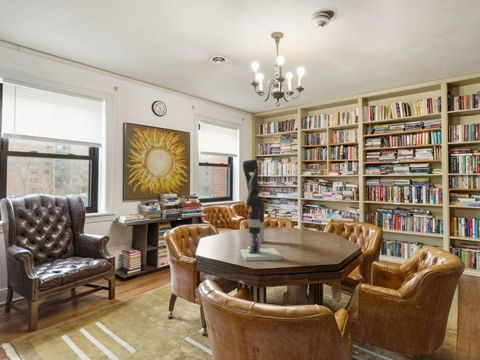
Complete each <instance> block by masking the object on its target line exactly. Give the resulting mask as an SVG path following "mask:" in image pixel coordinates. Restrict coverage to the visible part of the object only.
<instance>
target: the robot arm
mask: <svg viewBox="0 0 480 360" xmlns="http://www.w3.org/2000/svg"><path fill="white" fill-rule="evenodd" d="M242 170H243V173H244V177H245V180H246V186H247V192H248V193H247V194H248V195H247V198H246V205H247V206H248V207H250V211H249V213H248V215H249V216H248V217H249V219H248V233H249V234H250V240H251V241H250V243H251V244H253V251H254V252H257V246H258V244H264V243H265V203H264V202H263V198H262V197H261V196H259V194H260V191H261V189H260V184H259V164H258V161H257V159H249V160H244V161H243V162H242ZM250 173H251V174H250ZM252 173H253V174H252Z"/></svg>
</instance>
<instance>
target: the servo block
mask: <svg viewBox="0 0 480 360" xmlns="http://www.w3.org/2000/svg"><path fill="white" fill-rule="evenodd" d="M247 249H250V253H260V249H263V247H262V246H261V245H260V243H258V246H257V252H254V251H253V244H252V243H251V244H249V246H247Z"/></svg>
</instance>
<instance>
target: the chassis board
mask: <svg viewBox="0 0 480 360" xmlns="http://www.w3.org/2000/svg"><path fill="white" fill-rule="evenodd" d="M240 254H241V256H242V258H243V260H244V261H245V262H250V261H251V262H252V261H254V262H256V261H273V260H274V261H276V260H279V261H280V260H282V259H283V255H282V254H281V253H280V252H278V250H276V248H272V247H269V248H260V253H250V249H248V248H243V249H240Z"/></svg>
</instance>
